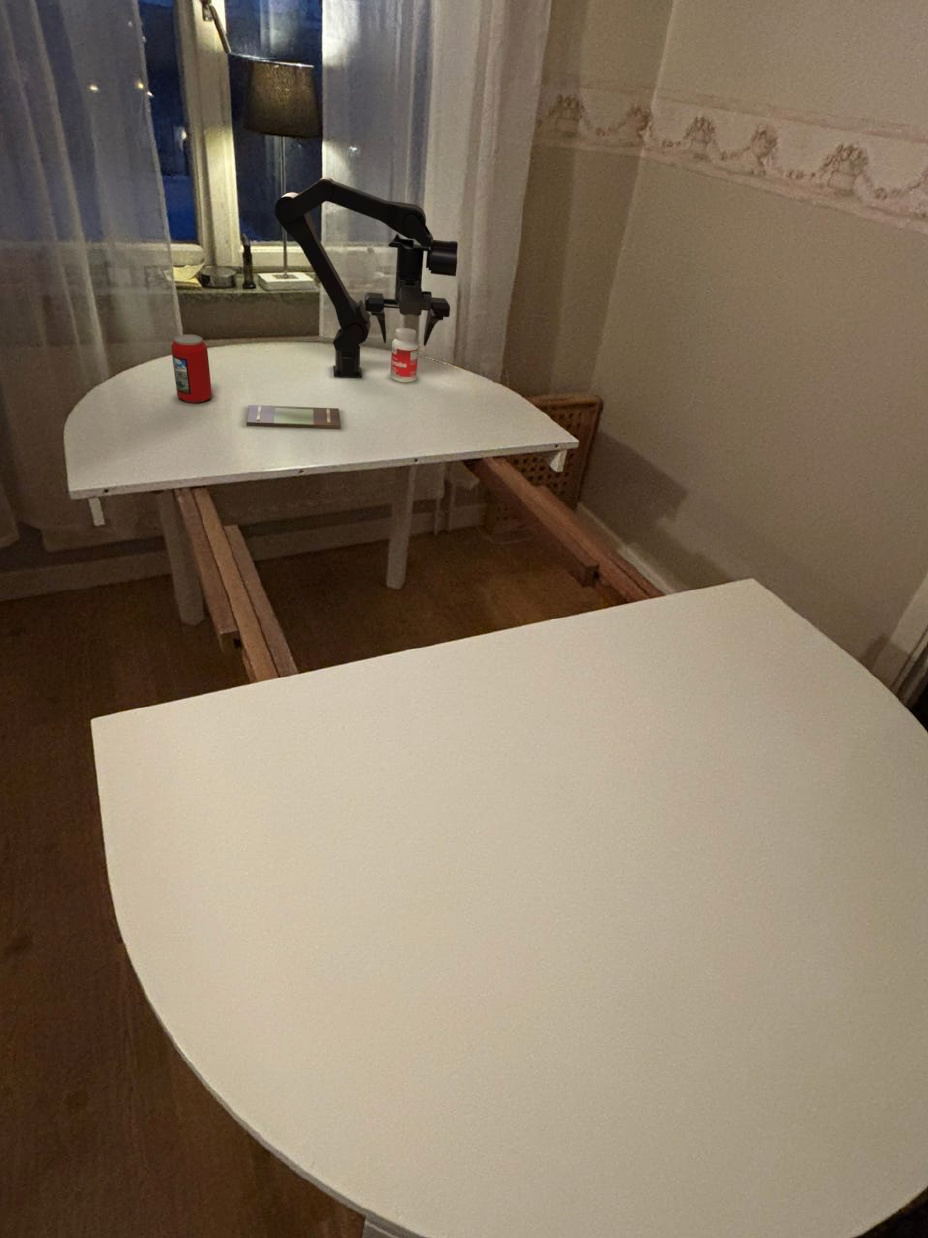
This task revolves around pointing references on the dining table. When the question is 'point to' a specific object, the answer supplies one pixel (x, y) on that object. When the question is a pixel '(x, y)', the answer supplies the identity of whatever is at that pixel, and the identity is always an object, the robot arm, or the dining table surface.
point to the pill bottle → (404, 356)
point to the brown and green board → (293, 417)
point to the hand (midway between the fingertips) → (404, 343)
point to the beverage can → (191, 368)
